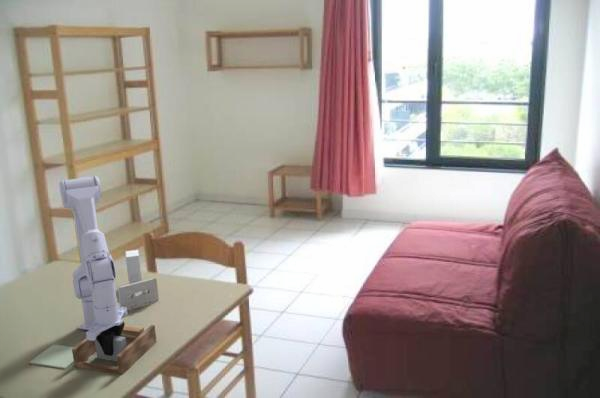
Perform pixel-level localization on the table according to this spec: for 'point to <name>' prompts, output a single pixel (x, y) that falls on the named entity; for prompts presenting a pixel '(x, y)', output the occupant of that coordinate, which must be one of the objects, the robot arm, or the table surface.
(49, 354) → the mat
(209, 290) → the table surface
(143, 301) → the cassette
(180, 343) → the table surface
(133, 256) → the skincare box
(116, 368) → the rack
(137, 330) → the offcut
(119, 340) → the grey rectangular box
